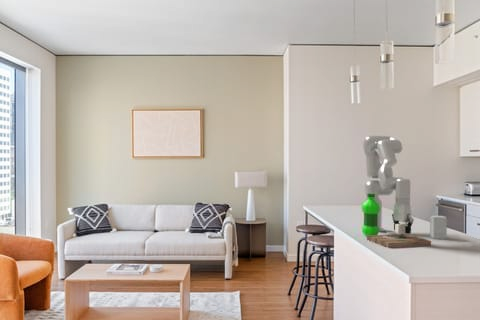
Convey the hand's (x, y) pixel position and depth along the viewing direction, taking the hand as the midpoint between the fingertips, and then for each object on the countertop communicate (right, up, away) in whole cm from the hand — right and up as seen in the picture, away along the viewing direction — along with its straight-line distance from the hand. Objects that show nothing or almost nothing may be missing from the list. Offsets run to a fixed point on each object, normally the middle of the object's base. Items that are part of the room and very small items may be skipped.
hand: (402, 231), depth 227 cm
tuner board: (-3, -6, -3) cm, 7 cm away
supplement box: (+26, -6, +12) cm, 29 cm away
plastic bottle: (-13, -5, +14) cm, 20 cm away
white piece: (-3, -3, -1) cm, 4 cm away
